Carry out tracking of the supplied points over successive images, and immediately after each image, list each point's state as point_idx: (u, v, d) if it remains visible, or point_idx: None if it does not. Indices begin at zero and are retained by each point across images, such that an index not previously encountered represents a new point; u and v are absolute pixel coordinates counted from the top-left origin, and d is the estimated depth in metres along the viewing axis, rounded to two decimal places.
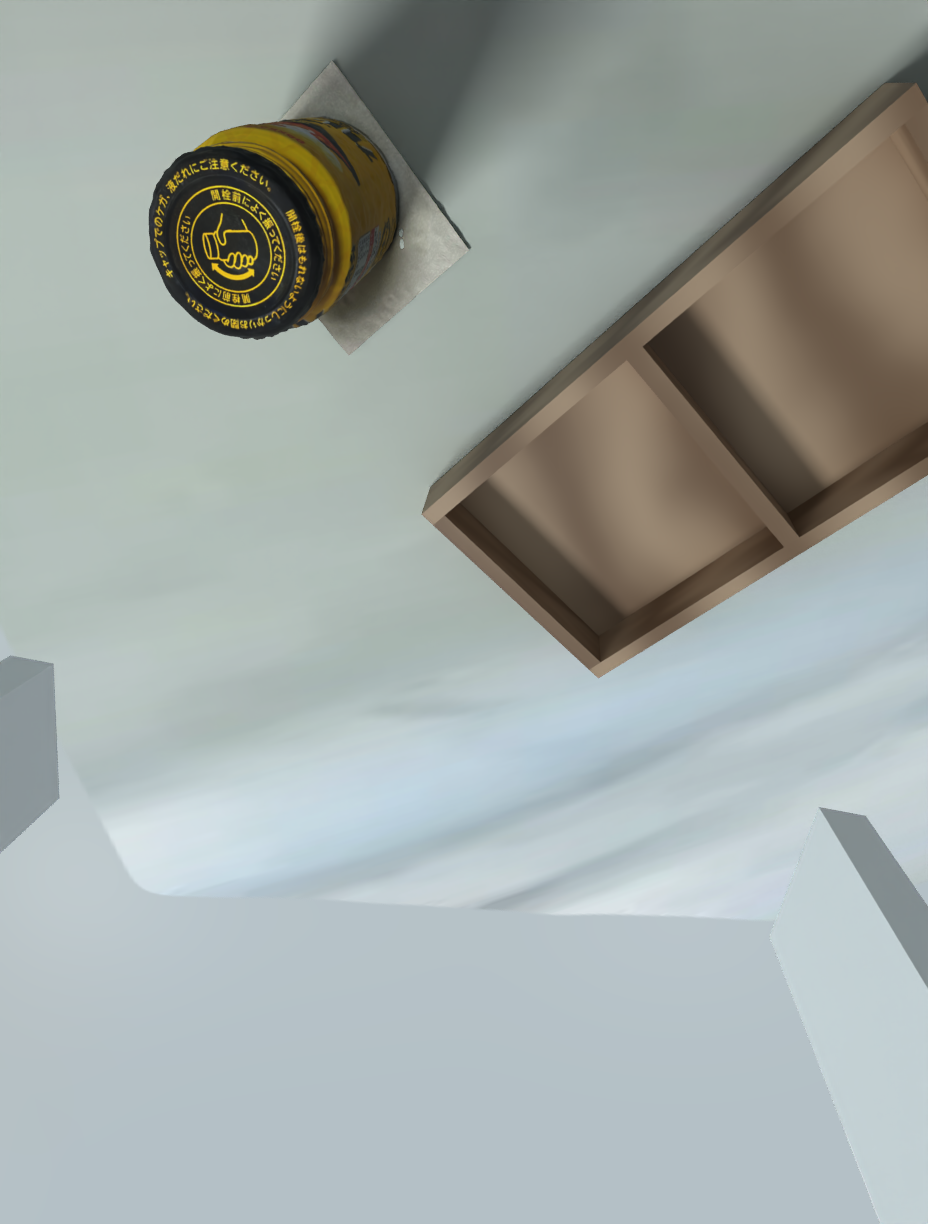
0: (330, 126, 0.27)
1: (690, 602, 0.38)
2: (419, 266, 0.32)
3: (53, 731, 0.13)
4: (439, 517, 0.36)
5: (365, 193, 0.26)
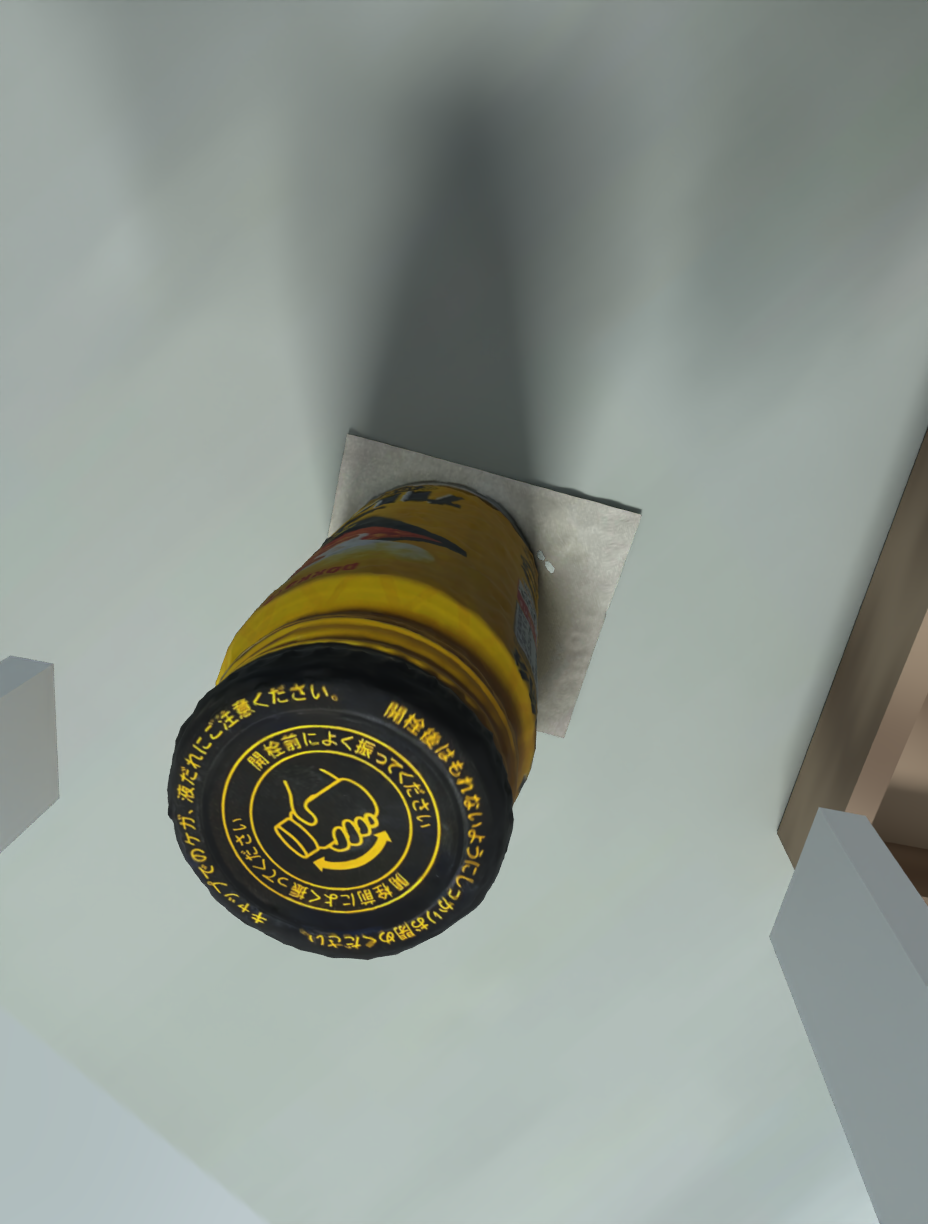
0: (385, 505, 0.18)
1: None
2: (587, 577, 0.21)
3: (53, 731, 0.13)
4: None
5: (480, 558, 0.15)
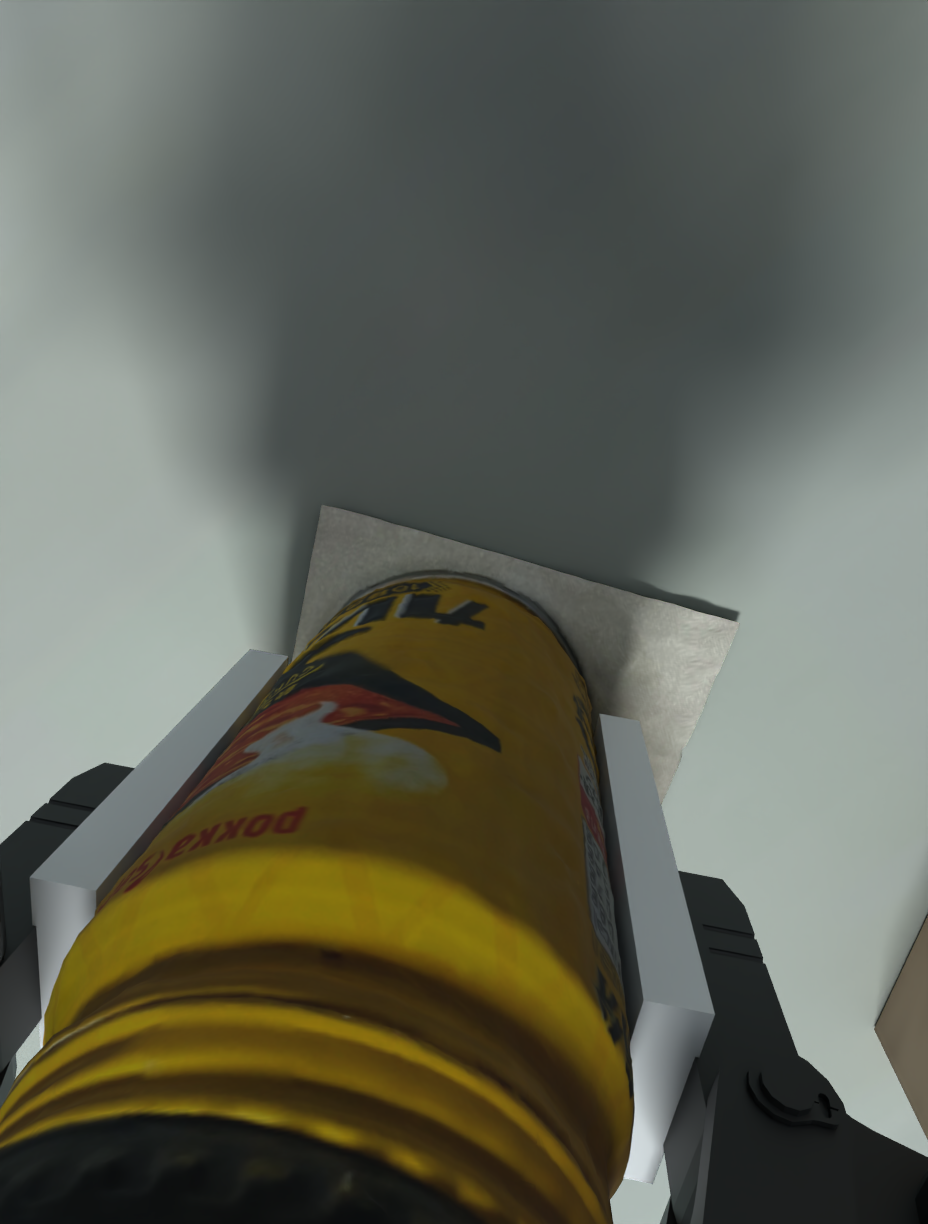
0: (370, 626, 0.12)
1: None
2: (658, 705, 0.15)
3: None
4: None
5: (522, 747, 0.09)
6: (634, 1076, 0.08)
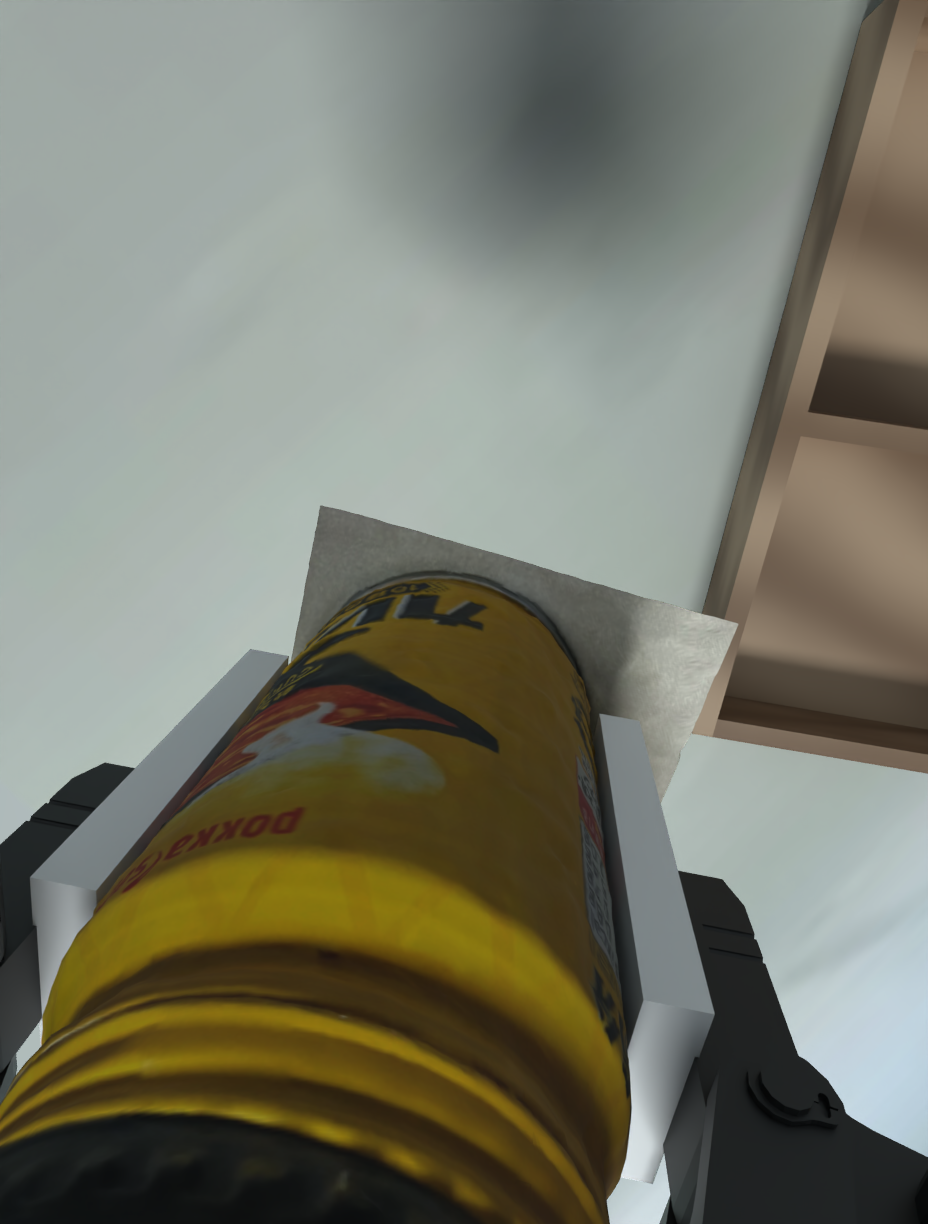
0: (369, 626, 0.12)
1: None
2: (657, 706, 0.15)
3: None
4: (713, 724, 0.29)
5: (520, 747, 0.09)
6: (634, 1076, 0.08)
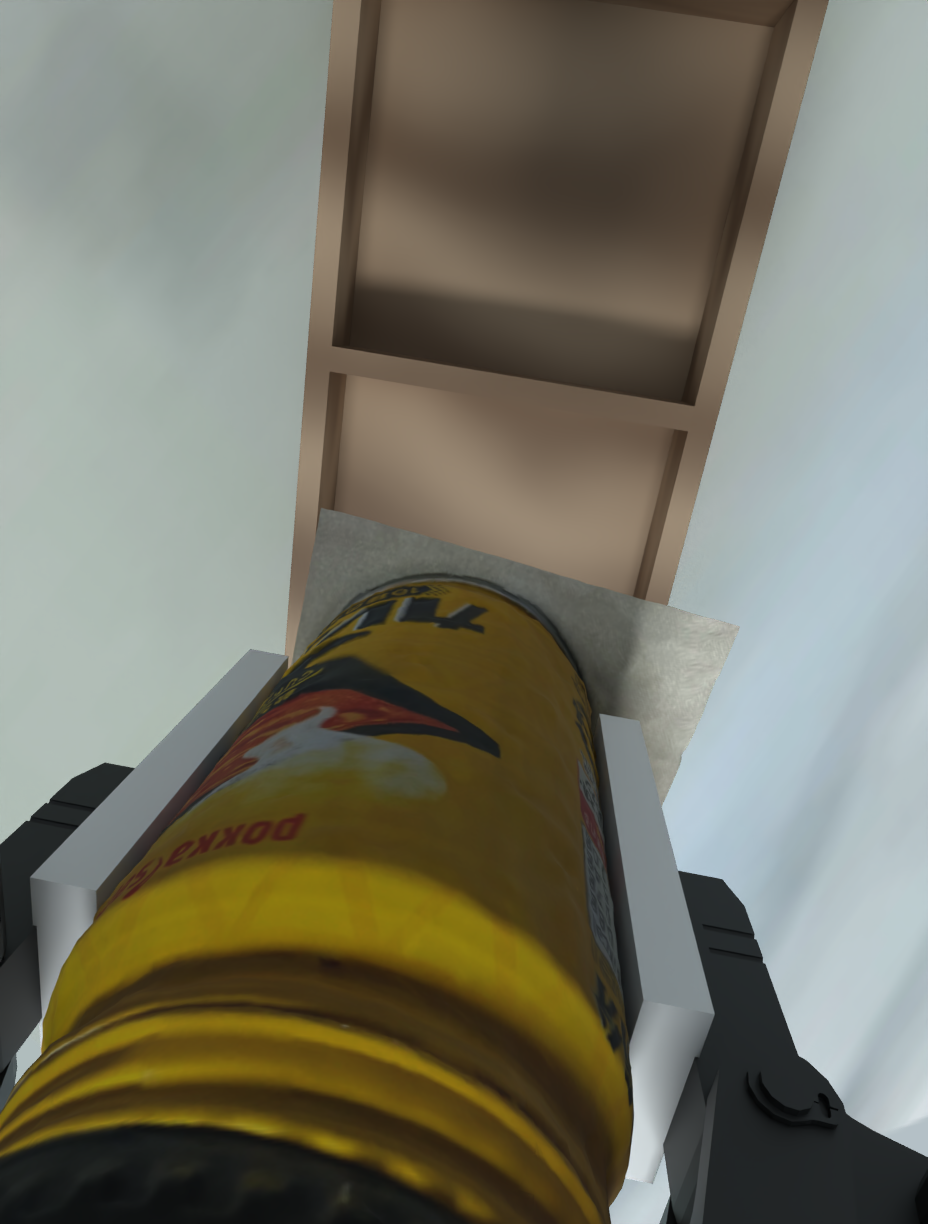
0: (370, 630, 0.12)
1: (649, 578, 0.26)
2: (658, 708, 0.15)
3: None
4: None
5: (522, 752, 0.09)
6: (634, 1076, 0.08)
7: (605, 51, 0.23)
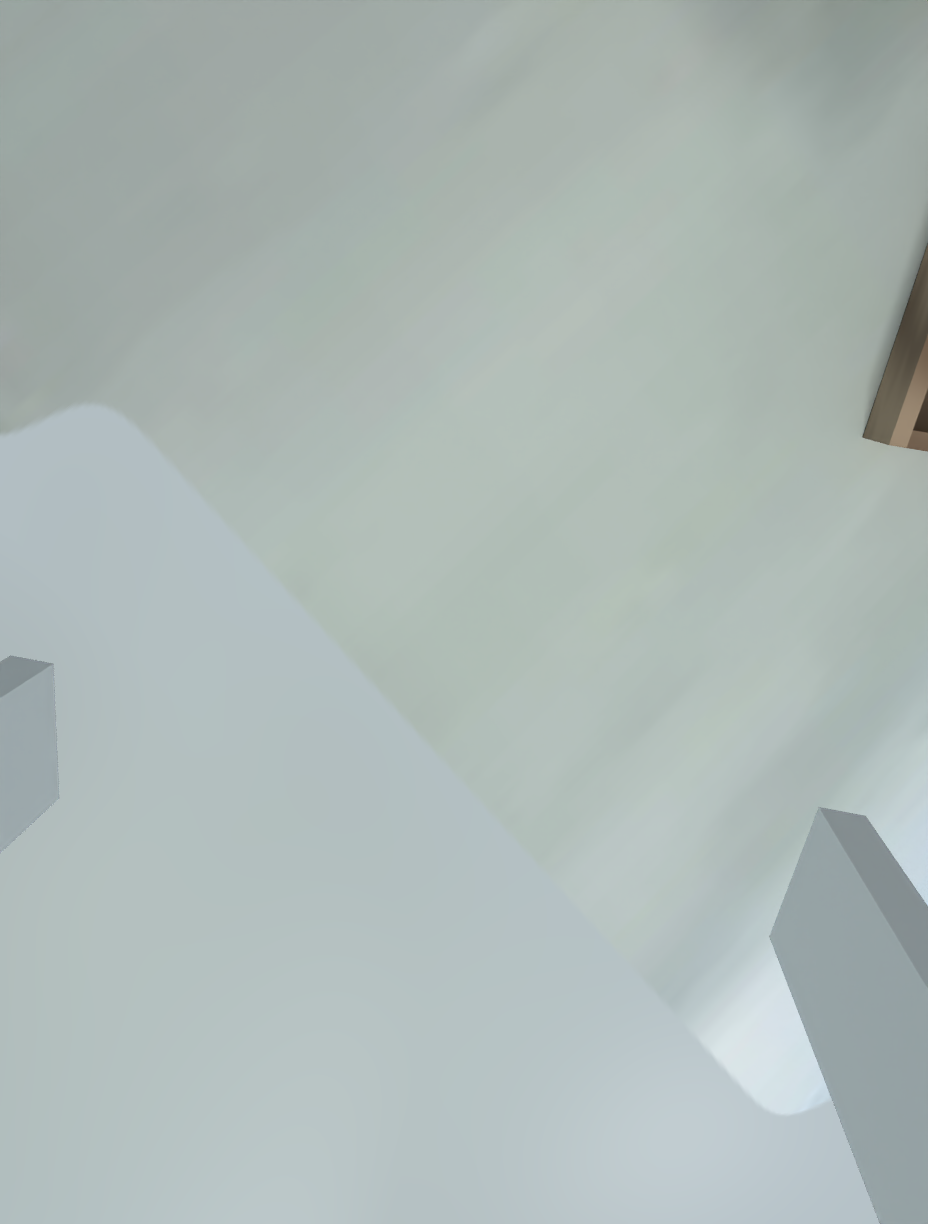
0: None
1: None
2: None
3: (53, 731, 0.13)
4: (908, 435, 0.34)
5: None
6: None
7: None
